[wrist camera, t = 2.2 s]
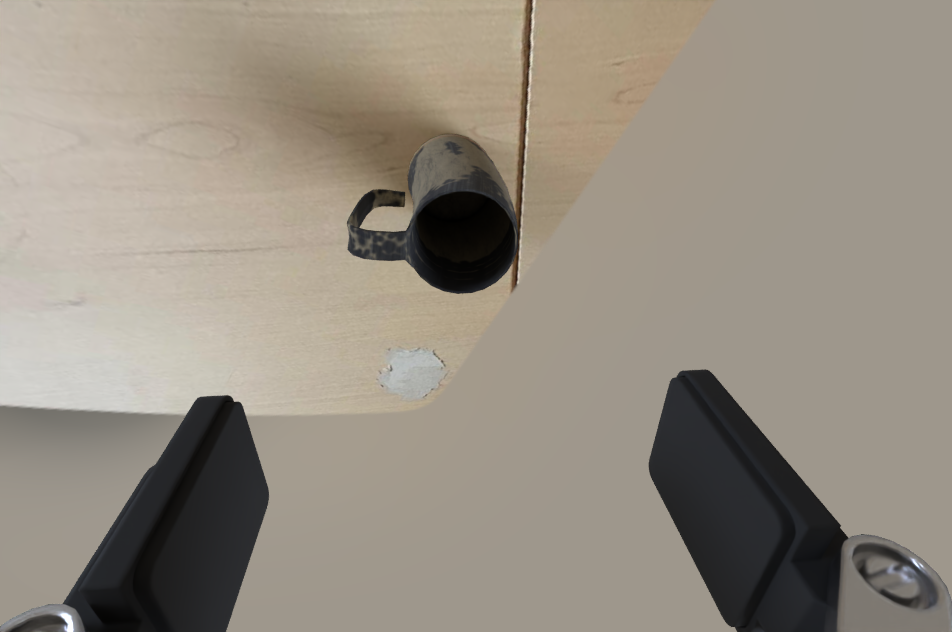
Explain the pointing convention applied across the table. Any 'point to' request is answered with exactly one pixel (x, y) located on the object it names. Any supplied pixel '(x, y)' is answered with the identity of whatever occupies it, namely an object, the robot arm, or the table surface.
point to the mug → (446, 218)
